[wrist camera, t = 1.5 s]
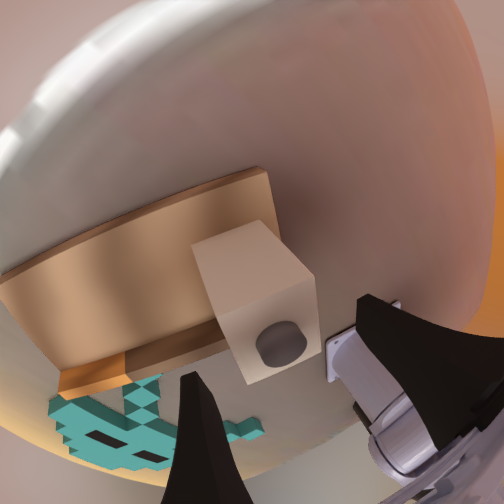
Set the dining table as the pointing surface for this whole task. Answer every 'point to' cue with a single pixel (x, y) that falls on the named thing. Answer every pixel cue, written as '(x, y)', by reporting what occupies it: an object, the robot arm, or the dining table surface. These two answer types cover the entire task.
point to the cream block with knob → (260, 299)
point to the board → (133, 287)
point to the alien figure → (127, 429)
